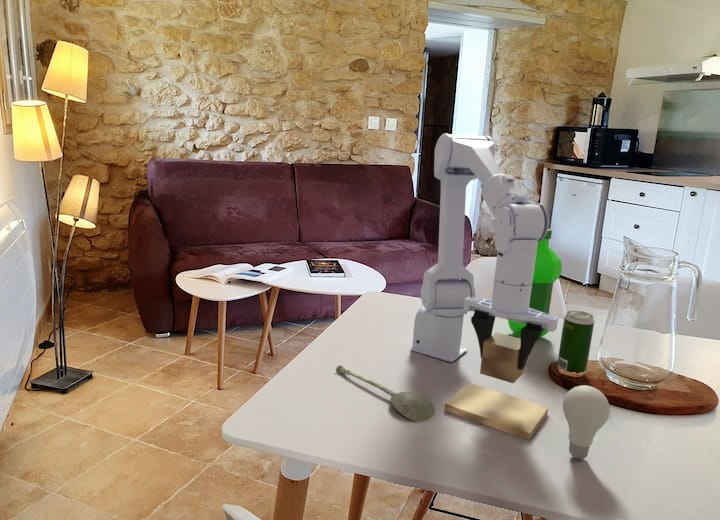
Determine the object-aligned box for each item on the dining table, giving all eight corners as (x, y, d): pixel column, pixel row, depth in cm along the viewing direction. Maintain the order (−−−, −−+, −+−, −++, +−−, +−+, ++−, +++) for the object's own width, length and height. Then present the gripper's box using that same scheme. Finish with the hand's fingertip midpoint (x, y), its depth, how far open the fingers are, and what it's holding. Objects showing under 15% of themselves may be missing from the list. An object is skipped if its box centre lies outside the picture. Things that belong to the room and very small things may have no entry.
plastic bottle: (495, 334, 125) (508, 227, 119) (520, 325, 132) (534, 223, 126) (534, 348, 118) (550, 235, 112) (558, 337, 125) (575, 231, 119)
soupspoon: (415, 433, 84) (441, 421, 89) (418, 413, 83) (444, 402, 88) (325, 377, 100) (351, 369, 104) (327, 359, 99) (353, 353, 103)
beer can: (574, 380, 103) (583, 321, 100) (550, 369, 108) (559, 312, 105) (591, 375, 106) (601, 317, 103) (567, 364, 110) (576, 308, 108)
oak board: (444, 410, 89) (445, 403, 89) (468, 388, 97) (469, 382, 97) (528, 440, 82) (529, 433, 82) (547, 414, 90) (548, 407, 90)
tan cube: (479, 373, 88) (483, 341, 86) (492, 363, 92) (496, 332, 91) (513, 383, 85) (517, 350, 84) (524, 372, 89) (528, 340, 88)
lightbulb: (598, 451, 80) (610, 383, 77) (601, 475, 74) (615, 402, 72) (554, 442, 82) (565, 374, 79) (554, 464, 76) (566, 392, 74)
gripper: (459, 276, 85) (451, 357, 88) (553, 296, 77) (540, 384, 81) (476, 268, 91) (468, 344, 94) (566, 286, 83) (553, 368, 86)
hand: (502, 362), depth 88 cm, fingers closed on tan cube, 5 cm apart
